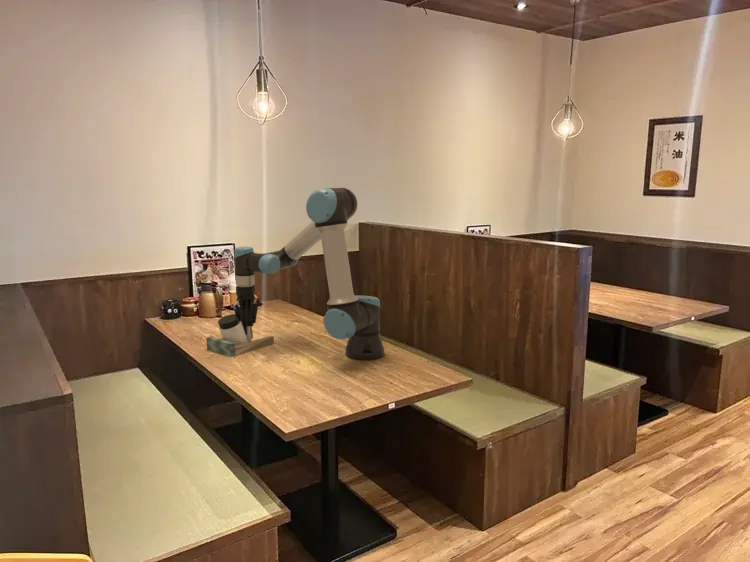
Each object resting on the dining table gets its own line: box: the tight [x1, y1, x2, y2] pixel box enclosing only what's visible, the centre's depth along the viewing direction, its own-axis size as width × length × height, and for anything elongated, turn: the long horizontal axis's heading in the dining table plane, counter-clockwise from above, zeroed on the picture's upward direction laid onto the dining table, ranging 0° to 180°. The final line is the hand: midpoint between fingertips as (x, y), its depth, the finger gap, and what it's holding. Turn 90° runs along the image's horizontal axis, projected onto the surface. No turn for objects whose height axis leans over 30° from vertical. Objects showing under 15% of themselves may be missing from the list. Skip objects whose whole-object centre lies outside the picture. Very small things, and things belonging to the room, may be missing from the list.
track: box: [205, 330, 275, 358], centre depth 234 cm, size 15×22×5 cm
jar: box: [217, 313, 247, 346], centre depth 231 cm, size 9×8×12 cm
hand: (247, 341), depth 237 cm, fingers closed
